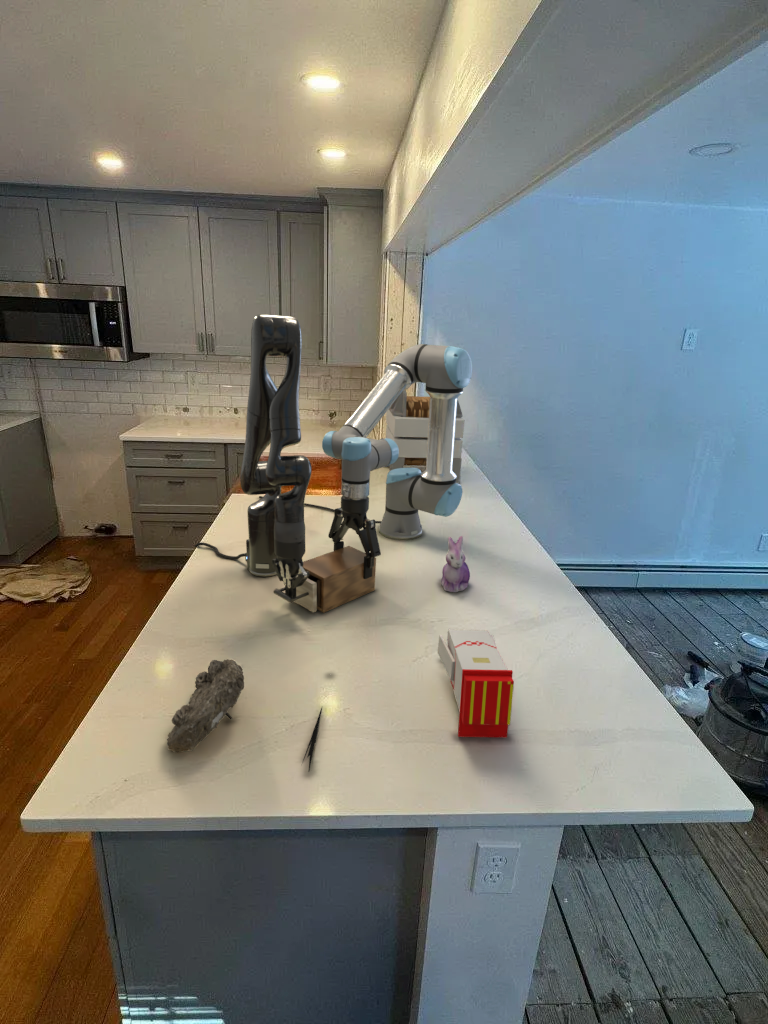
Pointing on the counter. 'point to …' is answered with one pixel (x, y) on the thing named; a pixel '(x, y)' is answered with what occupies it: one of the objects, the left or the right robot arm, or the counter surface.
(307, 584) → the drawer
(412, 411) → the white slatted crate
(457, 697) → the toy
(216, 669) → the fossil
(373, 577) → the cabinet
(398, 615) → the counter surface
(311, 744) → the feather
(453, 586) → the figurine
